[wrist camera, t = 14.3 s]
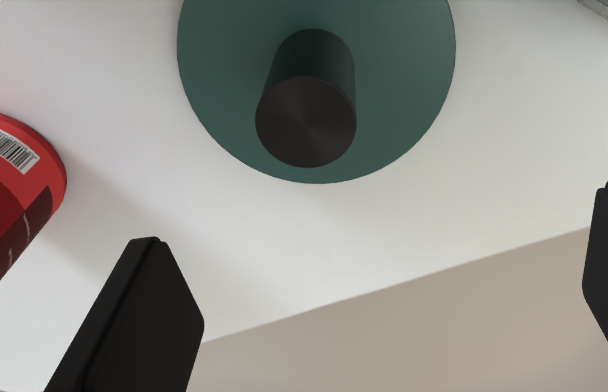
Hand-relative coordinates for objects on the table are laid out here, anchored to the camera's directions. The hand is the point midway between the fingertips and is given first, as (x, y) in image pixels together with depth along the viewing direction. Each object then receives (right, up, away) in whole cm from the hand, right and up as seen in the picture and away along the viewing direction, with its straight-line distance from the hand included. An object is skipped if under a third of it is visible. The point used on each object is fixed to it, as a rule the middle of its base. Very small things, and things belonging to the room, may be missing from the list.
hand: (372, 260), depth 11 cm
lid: (-1, +8, +13) cm, 16 cm away
